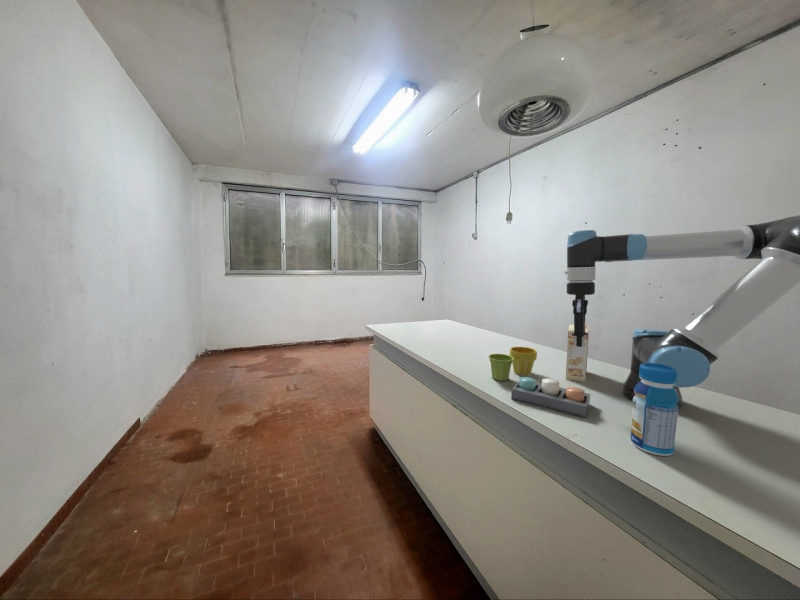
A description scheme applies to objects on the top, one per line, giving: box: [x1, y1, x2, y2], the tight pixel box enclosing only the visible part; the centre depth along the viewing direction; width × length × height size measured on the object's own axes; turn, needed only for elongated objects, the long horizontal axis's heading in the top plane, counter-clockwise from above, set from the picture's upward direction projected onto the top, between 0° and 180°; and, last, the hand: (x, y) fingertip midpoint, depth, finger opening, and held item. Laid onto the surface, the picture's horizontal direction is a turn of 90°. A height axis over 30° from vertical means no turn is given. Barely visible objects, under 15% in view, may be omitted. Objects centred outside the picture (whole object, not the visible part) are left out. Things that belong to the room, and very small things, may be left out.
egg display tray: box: [510, 380, 591, 419], centre depth 97 cm, size 21×11×4 cm, turn 52°
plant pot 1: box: [488, 353, 514, 382], centre depth 118 cm, size 9×9×9 cm
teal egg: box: [519, 376, 537, 391], centre depth 101 cm, size 5×5×4 cm
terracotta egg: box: [565, 386, 586, 403], centre depth 93 cm, size 5×5×4 cm
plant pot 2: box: [509, 346, 538, 376], centre depth 124 cm, size 10×10×10 cm
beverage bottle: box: [629, 363, 680, 457], centre depth 71 cm, size 8×8×20 cm
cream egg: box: [541, 378, 560, 397], centre depth 97 cm, size 5×5×4 cm
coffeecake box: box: [564, 323, 590, 383], centre depth 120 cm, size 15×7×20 cm, turn 148°
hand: (579, 355), depth 95 cm, fingers closed
